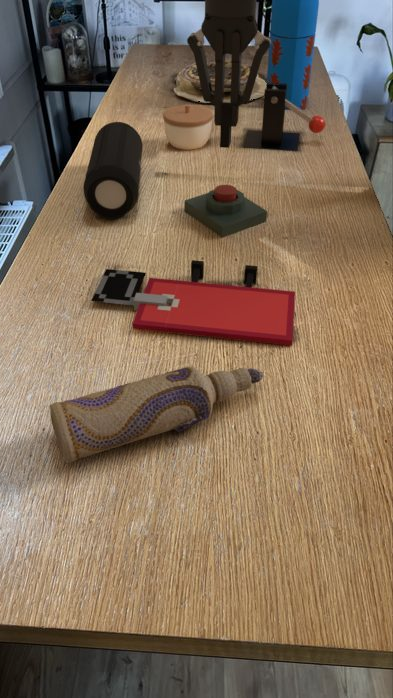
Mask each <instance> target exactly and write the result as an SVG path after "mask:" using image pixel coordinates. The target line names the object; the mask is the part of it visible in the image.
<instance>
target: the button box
mask: <svg viewBox="0 0 393 698" xmlns="http://www.w3.org/2000/svg"><path fill="white" fill-rule="evenodd" d="M183 202H184V204H183V205H184V212H185V213H187V214H188V215H190V216H191V217H192V218H193V219H195V220H197V221H198V222H199V223H201V224H202V225H204V226H205V227H206V228H208V229H209V230H211V231H212V232H213V233H215V234H216V235H218V236H219V237H221V238H222V239H223V238H226V237H228V236H231V235H233V234H236V233H239V232H242V231H245V230H247V229H250V228H253V227H255V226H258V225H261V224H264V223H267V218H268V217H267V216H268V210H266V209H265V208H263V207H261V206H260V205H258V204H256V203H255V202H254V201H252V200H250V199H248V198H247V197H246V196H245V193H244V192H242V191H241V190H239V189H237V195H236V200H235V201H233V202H226V203H223V202H218V201H216V200H215V199H214V189H211V190H209V191H208V192H206V193H203V194H200V195H197V196H194V197H191V198H187V199H185V200H184V201H183Z"/></svg>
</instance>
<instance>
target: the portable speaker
mask: <svg viewBox="0 0 393 698" xmlns="http://www.w3.org/2000/svg"><path fill="white" fill-rule="evenodd" d="M143 145H144V144H143V140H142V137H141V135H140V134H139V132H138V131H137V129H135V128H134V127H133V126H131V125H130V124H128V123H126V122H123V121H113V122H109V123H107V124H105V125H103V126H102V127H101V128H100V129H99V130H98V132H97V133H96V135H95V137H94V141H93V145H92V150H91V153H90V157H89V161H88V165H87V169H86V173H85V177H84V181H83V189H82V190H83V194H84V199H85V202H86V203H87V205H88V206H89V208H90V209H91V210H92V211H93V212H94V214H96V215H98V216H99V217H101V218H104V219H109V220H111V219H112V220H113V219H119V218H122V217H124V216H125V215H127V214H129V213H130V212H131V211H133V209H134V208H135V206H136V205H137V203H138V200H139V190H140V179H141V178H140V177H141V169H142V157H143V149H144V148H143V147H144V146H143Z"/></svg>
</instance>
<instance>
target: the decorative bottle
mask: <svg viewBox="0 0 393 698" xmlns="http://www.w3.org/2000/svg"><path fill="white" fill-rule="evenodd" d="M263 378H264V372H263V371H261V370H260V369H257V368H249V369H247V368H246V367H239V368H237V369H236V368H235V369H234V370H230V371H228V370H217V371H213V372H210V373H209V374H206V375H204V374H203V373H202V372H201V371H200V370H199V369H197V368H196V367H195V366H190V365H189V366H185V367H182V368H178V369H175V370H171V371H166V372H165V373H161V374H156V375H153V376H151V377H147V378H142V379H140V380H137V381H132V382H128V383H124V384H121V385H117V386H115V387H112V388H108V389H103V390H101V391H97V392H92V393H89V394H85V395H83V396H78V397H77V398H73V399H68V400H64V401H55V402H53V403H50V404H49V412H50V421H51V425H52V429H53V432H54V436H55V440H56V442H57V446H58V448H59V451H60V453H61V455H62V457H63V459H64V461H65V462H66V463H74V462H75V461H77V460H79V459H80V458H81V459H82V458H86V457H89V456H92V455H96V454H98V453H102V452H105V451H108V450H112V449H114V448H119V447H122V446H123V445H128V444H130V443H133V442H137V441H141V440H144V439H147V438H151V437H152V436H153V437H154V436H156V435H160V434H163V433H166V432H169V431H172V430H175V431H176V432H180V433H181V432H183V431H185V430H187V429H188V428H190V426H192V425H193V424H196V423H199V422H202V421H205V420H206V419H209V417H210V416H211V415H212V412H213V405H214V403H220V402H223V401H226V400H228V399H230V398H231V397H233V396H234V395H236V394H237V393H239V392H244V391H246V390H249V389H251V388H252V385H253V384H256V383H259V382H260V381H261V380H263Z"/></svg>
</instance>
